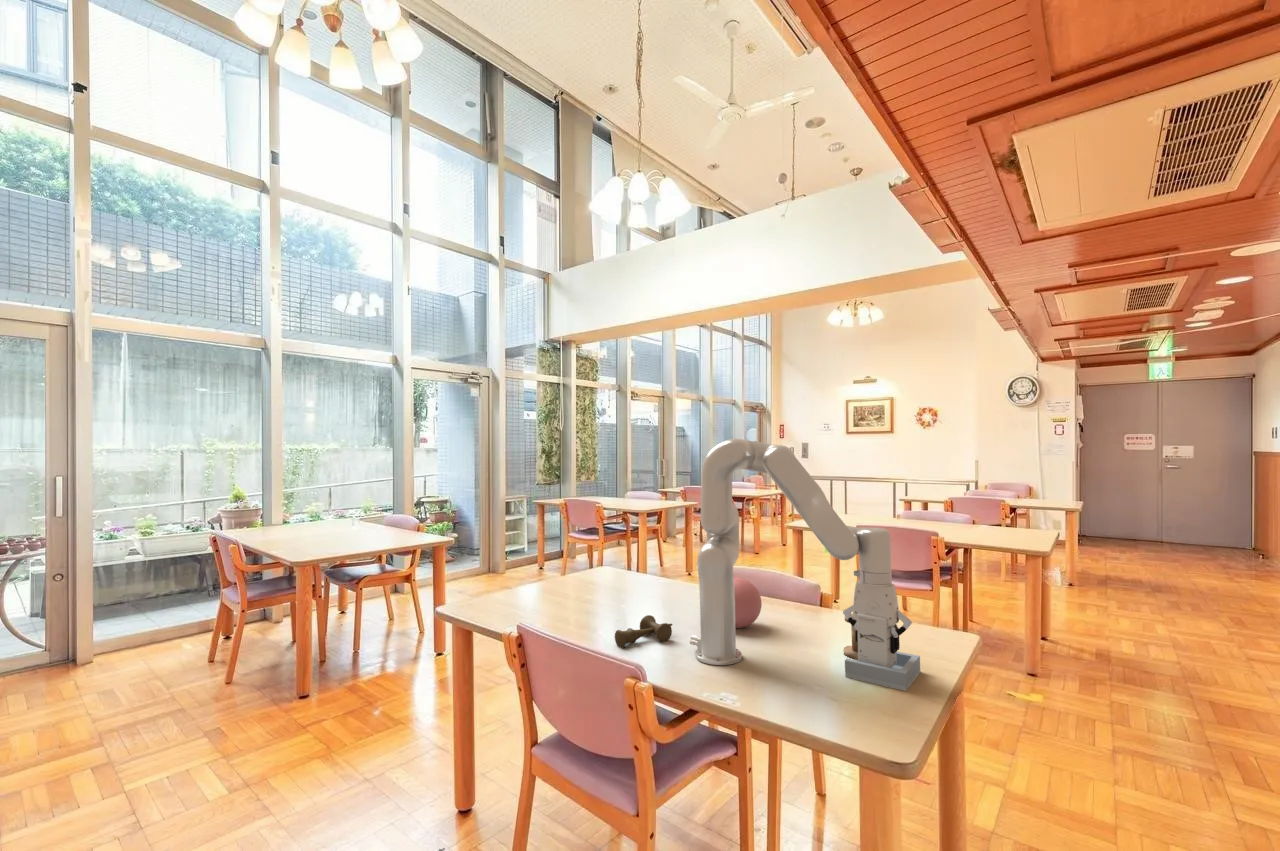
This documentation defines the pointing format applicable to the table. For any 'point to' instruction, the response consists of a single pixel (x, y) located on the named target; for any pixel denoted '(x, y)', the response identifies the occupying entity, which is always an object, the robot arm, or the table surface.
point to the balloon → (746, 603)
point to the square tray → (886, 671)
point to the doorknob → (852, 650)
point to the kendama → (644, 632)
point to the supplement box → (875, 641)
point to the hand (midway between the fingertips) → (877, 648)
